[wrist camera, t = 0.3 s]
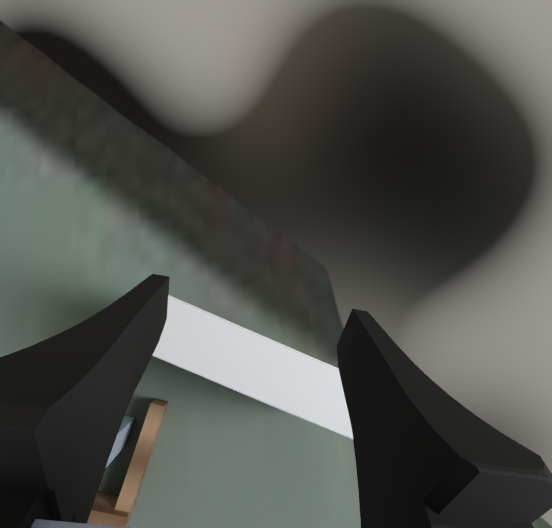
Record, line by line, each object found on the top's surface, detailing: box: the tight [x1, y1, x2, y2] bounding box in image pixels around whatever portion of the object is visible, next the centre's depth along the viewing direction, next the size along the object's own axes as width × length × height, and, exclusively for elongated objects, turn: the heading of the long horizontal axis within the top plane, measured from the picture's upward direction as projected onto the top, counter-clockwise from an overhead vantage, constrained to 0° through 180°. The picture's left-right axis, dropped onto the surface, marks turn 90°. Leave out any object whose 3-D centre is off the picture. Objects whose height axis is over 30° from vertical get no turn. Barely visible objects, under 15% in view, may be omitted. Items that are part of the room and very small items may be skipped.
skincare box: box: [152, 295, 353, 440], centre depth 34 cm, size 21×5×16 cm, turn 67°
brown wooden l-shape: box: [87, 399, 168, 527], centre depth 35 cm, size 12×14×4 cm
